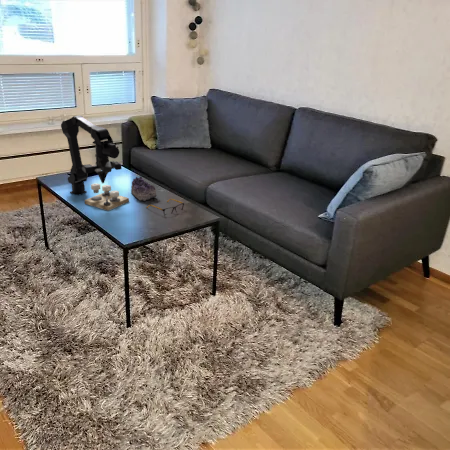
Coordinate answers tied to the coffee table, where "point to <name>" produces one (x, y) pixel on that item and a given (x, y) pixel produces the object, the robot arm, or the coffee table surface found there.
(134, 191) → the geode
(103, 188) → the knob
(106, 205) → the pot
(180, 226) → the coffee table surface
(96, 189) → the knob
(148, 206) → the eyeglasses
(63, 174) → the coffee table surface
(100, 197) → the panel
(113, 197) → the knob
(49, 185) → the coffee table surface
